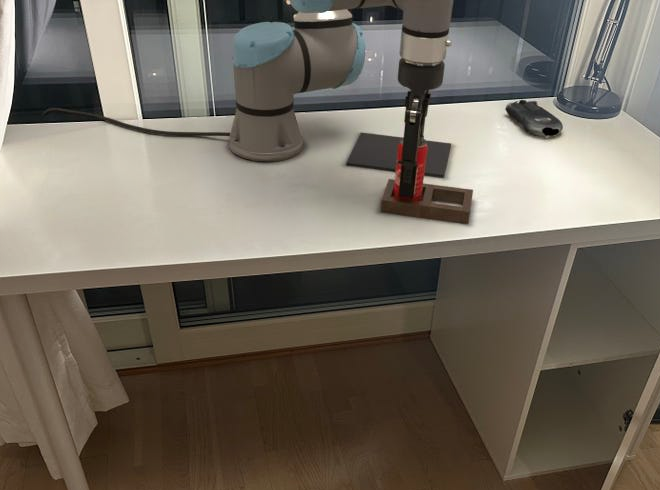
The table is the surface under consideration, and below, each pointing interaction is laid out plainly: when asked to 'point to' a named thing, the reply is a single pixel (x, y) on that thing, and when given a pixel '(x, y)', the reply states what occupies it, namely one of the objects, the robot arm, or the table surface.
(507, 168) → the table surface
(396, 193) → the beverage can
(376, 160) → the mat
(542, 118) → the electronic device
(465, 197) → the tray
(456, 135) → the table surface
